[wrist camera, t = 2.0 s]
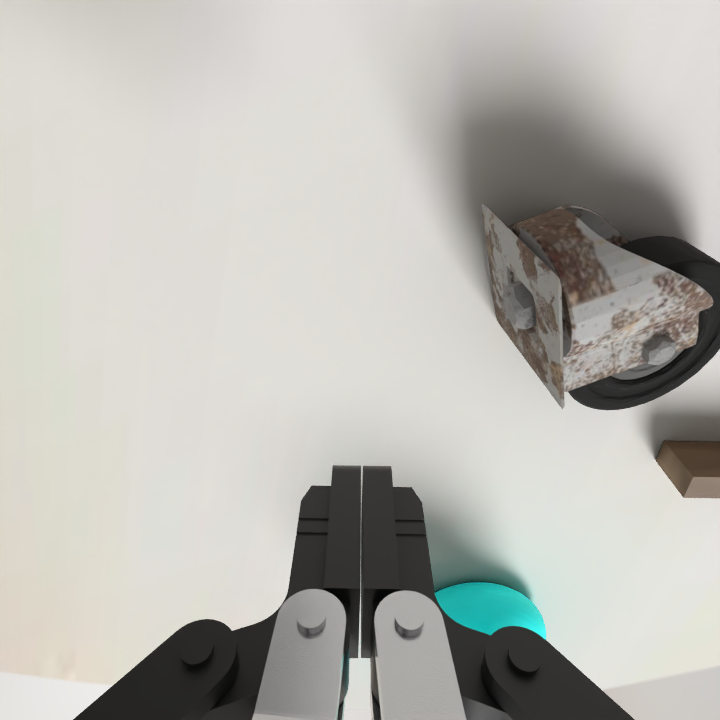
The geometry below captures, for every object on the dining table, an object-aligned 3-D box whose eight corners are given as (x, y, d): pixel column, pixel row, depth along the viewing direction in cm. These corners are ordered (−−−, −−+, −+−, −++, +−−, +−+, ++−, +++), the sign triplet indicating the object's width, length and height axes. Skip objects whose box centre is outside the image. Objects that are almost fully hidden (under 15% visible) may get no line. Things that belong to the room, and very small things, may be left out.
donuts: (471, 721, 26) (629, 757, 28) (443, 557, 35) (565, 594, 37) (388, 798, 31) (529, 825, 33) (382, 637, 39) (493, 666, 41)
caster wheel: (662, 324, 29) (495, 385, 29) (692, 122, 21) (468, 206, 22) (757, 405, 24) (554, 478, 24) (840, 176, 16) (544, 285, 16)
